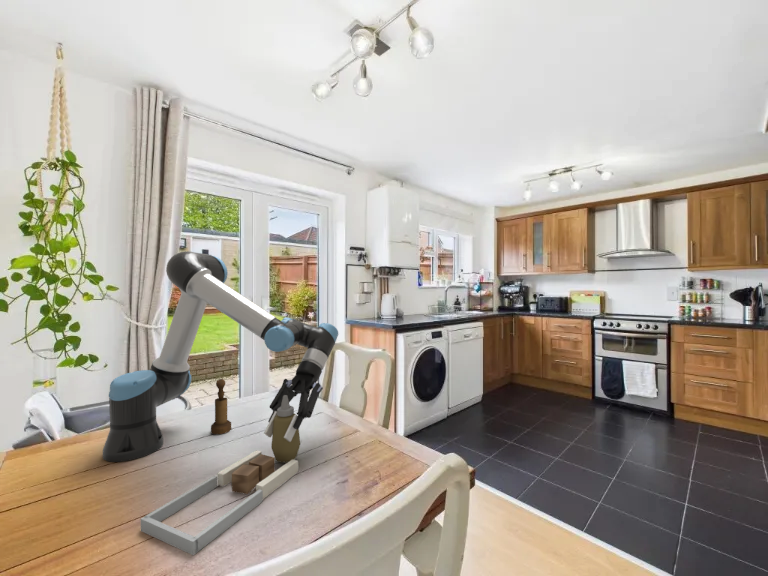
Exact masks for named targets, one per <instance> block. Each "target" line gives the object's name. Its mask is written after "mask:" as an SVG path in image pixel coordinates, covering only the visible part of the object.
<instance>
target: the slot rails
mask: <svg viewBox="0 0 768 576" xmlns="http://www.w3.org/2000/svg"><path fill="white" fill-rule="evenodd" d="M261 454H263V451H260V450H255V451H253V452H251V453H250V454H248V455H246V456H245V457H243V458H241V459H239V460H238V461H236V462H234V463H232V464H230V465H228V466H227V467H226V468H223V469H222V470H220V471H219V472H217V486H220V487H225V486H227V485H228V484H230V483H232V473H233V472H234V471H236V470H237V469H238V468H240V467H241V466H242V465H243V464H245V465H249V462H250V461H251V460H253V459H255V458H256V457H258V456H260V455H261ZM298 473H299V460H296V459H294V460H293V459H292V460H291V461H289V462H285V464H283V465H282V466H280V467H279V468H278V469H275V472H274V473H272V474H271V475H269V476H268V477H266V478H265V479H264V480H262V481H261V482H259V483H258V484H256V487H255V492H257V491H258V490H259V489H260V490H263V500H264V499H265V498H266V497H268V496H269V495H271V494H272V493H273V492H274V491H275V490H277V489H278V488H280V487H281V486H282V485H283V484H285V483H286V482H287V481H289V480H291V478H293V477H294V476H295V475H296V474H298Z"/></svg>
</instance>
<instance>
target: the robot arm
mask: <svg viewBox="0 0 768 576" xmlns="http://www.w3.org/2000/svg"><path fill="white" fill-rule="evenodd" d="M165 268H166V269H165V272H166V276H167V278H168V279H169V281H170V282H171V284H172V285H174V286H175V287H177V288H178V289H179V291H180V292H181V293H180V297H179V298H178V302H177V304H176V308H175V311H174V313H173V316H172V319H171V322H170V326H169V329H168V331H167V334H166V337H165V339H164V340H165V341H164V343H163V346H162V348H161V352H160V355H159V357H157V358H155V359H154V360H153V361H152V363H151V365H150V369H142V370H134V371H132V372H127V373H123V374H121V375H119V376H117V377H115V378H114V379H112V381H111V382H110V384H109V391H108V399H109V400H108V401H109V404H108V405H109V432H108V434H107V437H106V440H105V443H104V445H103V448H102V460H104V461H105V460H106V461H105V462H109V463H110V462H113V463H117V462H118V463H120V462H126V461H130V460H131V461H132V460H135V459H139V458H143V457H145V456H147V455H151V454H153V453H154V452H156V451H158V450H160V449H161V448H162V447H163V444H164V435H163V433H162V430H161V428H160V426H159V424H158V420H157V407H159V406H162V405H164V404H166V403H168V402H170V401H173V400H175V399H177V398H179V397H180V396H182V395H183V394H184V393H186V392H187V390H188V389H189V387H190V386H191V384H192V383H191V382H192V374H190V373H191V371H190V369H191V365H190V364H189V363H188V360H189V357H190V355H191V354H190V353H191V351H192V349H193V346H194V343H195V339H196V336H197V333H198V331H199V327H200V325H201V321H202V319H203V316H204V314H205V311H206V307H207V305H208V304H209V305H210V306H212V307H213V308H215V310H217V311H219V312H221V313H222V314H224V315H225V316H226V317H228V318H230V319H231V320H232V321H235V322H236V323H237V324H239V325H240V326H241V327H244V328H245V329H246V330H248V331H249V332H251V333H252V334H253V335H256V336H257V337H258V338H260V339H261V340H263V341H264V344H265V346H266V347H267V349H269V351H272V352H273V353H275V352H276V353H279V352H284V351H287V350H289V349H290V348H291V347H293V346H296V345H298V346H301V347H303V348H307V349H306V351H305V352H304V355H303V356H302V358H301V361H300V362H299V365H298V366H297V368H296V370H295V375H294V377H292V379H288V378H284V379H283V382H282V385H281V386H280V388H279V390H278V391H277V393H276V394H275V397H274V398H273V400H272V401H271V403H270V404H269V409H271V410H272V413H271V415H270V417H269V419H268V423H267V427H266V428H265V429H264V432H263V434H264V435H265V436H267V438H272V434H273V423H274V418H275V417H276V416H277V409H278V408H279V407H281V404H282V399H283V396H284V395H287V396H288V400H289V403H290V402H291V401H292V400H293V399H294V398H295V397H297V396H298V395H300V397H299V404H298V411H297V412H295V414H296V415H294V417H293V419H292V421H291V423H290V425H289V427H288V429H287V432H286V434H285V436H284V438H285V439H286V440H287V441H289V442H291V440H292V438H293V436H294V434H295V431H296V429H297V430H298V429H300V426H301V425H302V423H303V420H304V419H307V418H308V419H309V418H311V417H312V415H313V413H314V409H315V407H316V404H317V401H318V399H319V395H320V394H321V392H322V391H323V386H322V385H321V383H320V382H318V381H319V379H320V377H321V375H322V373H323V370H324V367H325V365H326V363H327V362H328V359H329V358H330V355H331V353H332V351H333V349H334V347H335V345H336V342H337V340H338V339H337V338H338V336H339V330H338V328H337V327H336V326H335V325H333V324H331V323H329V322H322V323H320V324H319V325H318V326H313V325H310V324H308V323H305V322H302V321H300V320H297V319H295V318H290V317H283V319H278V318H277V317H276V316H274V315H273V314H272V313H270V312H268V311H267V310H265V309H264V308H262V307H261V306H259V305H258V304H256V303H255V302H253V301H252V300H250V299H248V298H247V297H245V296H244V295H243V294H241V293H240V292H238V291H237V290H235V289H233V288H232V287H230V285H229V286H228V285H227V284H226V281H227V279H228V275H229V274H228V268H227V266H226V264H225V262H224V261H223V259H221V258H219V257H217V256H215V255H212V254H210V253H209V254H208V253H201V252H194V251H189V250H188V251H181V252H177V253H176V254H174V255H173V256H171V258H170V259H168V262H167V264H166V267H165Z"/></svg>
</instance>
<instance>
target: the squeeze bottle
mask: <svg viewBox="0 0 768 576" xmlns="http://www.w3.org/2000/svg"><path fill="white" fill-rule="evenodd" d="M294 409H295V407H294V406H292V405H290V402H289V400H288V396H287V395H284V396H283V399H282V404H281V407H279V408H278V409H277V416H276V417H275V418H274V423H273V434H272V436H271V438H272V439H271V452H272V454H273V456H274V457H275V462H278V463H280V464H281V463H288V462H289V461H291V460H292V459H293V460H296V458H297V457H298V453H299V450H300V447H301V438H300V430H299V429H300V428H299V429H298V430H297V429H296V431H295V434H294V436H293V438H292V440H291V442H289V441H287V440H286V439H285V438H284V436H285V434H286V432H287V429H288V427H289V425H290V423H291V421H292V419H293V417H294V415H297V413H295V410H294Z"/></svg>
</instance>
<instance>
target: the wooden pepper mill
mask: <svg viewBox="0 0 768 576" xmlns="http://www.w3.org/2000/svg"><path fill="white" fill-rule="evenodd" d="M215 386H216V388H217V390H218V391H217V398H215V399H214V422H212V424H211V426H210V433H211V434H213V435H223V434H226V433H230V432H231V431H230V430H232V422H231V420H229V419H228V398H227V397H225V391H224V388H225V386H226V380H225V379H222V378H220V379H218V380H216V382H215Z"/></svg>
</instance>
